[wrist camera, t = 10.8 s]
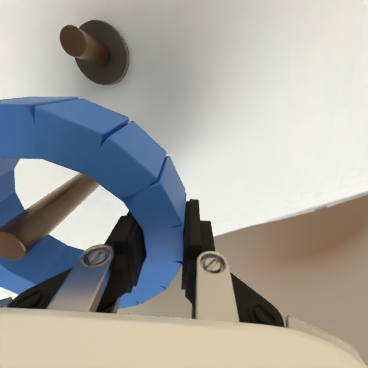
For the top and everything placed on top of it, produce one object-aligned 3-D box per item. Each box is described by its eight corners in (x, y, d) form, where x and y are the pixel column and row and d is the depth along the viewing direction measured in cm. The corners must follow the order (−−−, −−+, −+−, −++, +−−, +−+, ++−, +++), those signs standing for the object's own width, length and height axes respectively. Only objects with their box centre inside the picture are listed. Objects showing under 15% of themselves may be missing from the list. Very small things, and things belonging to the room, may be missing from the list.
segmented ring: (187, 97, 9) (184, 105, 6) (185, 272, 15) (183, 314, 12) (-72, 95, 9) (-185, 102, 7) (31, 266, 16) (-4, 306, 13)
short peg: (127, 24, 16) (102, -4, 12) (131, 86, 18) (111, 82, 14) (72, 21, 16) (27, -8, 12) (82, 83, 18) (47, 79, 14)
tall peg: (134, 139, 20) (42, 207, 8) (137, 179, 22) (66, 284, 10) (91, 137, 21) (-71, 200, 8) (97, 176, 23) (-23, 278, 10)
